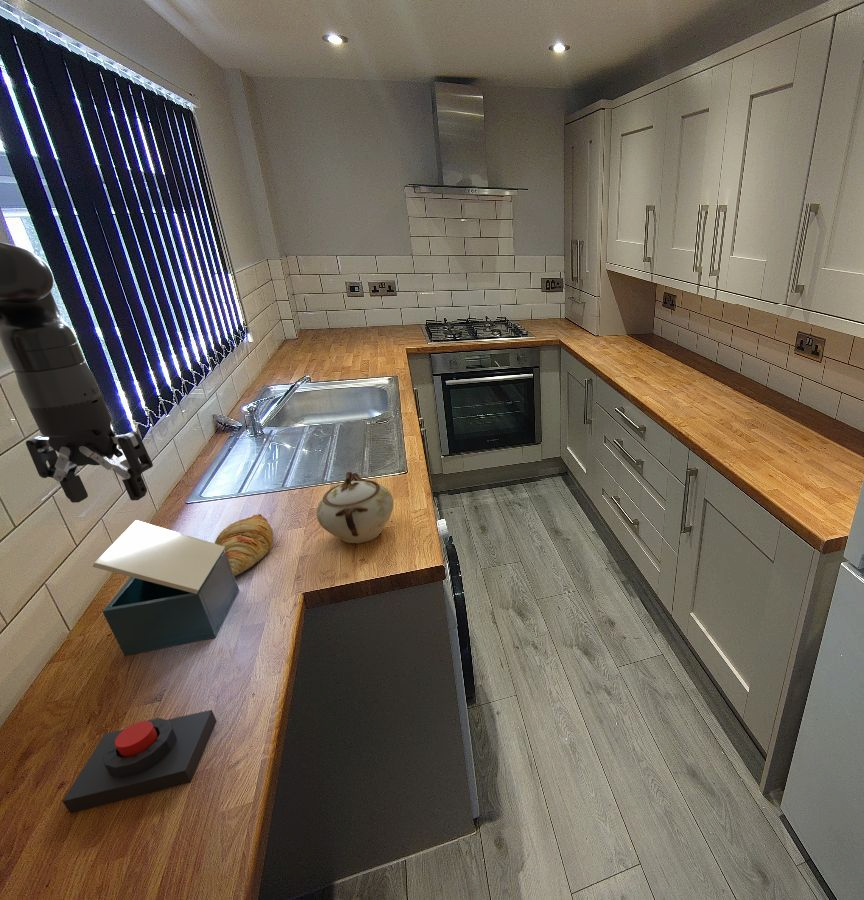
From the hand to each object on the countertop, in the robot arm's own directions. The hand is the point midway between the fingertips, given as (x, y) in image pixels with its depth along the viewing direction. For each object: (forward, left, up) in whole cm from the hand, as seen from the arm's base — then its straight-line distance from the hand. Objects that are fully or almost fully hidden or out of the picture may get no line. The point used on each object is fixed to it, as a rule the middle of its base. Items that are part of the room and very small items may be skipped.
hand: (110, 499), depth 79 cm
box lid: (+4, 0, -11) cm, 12 cm away
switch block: (+9, -29, -24) cm, 39 cm away
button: (+9, -29, -20) cm, 37 cm away
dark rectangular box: (+3, 0, -24) cm, 24 cm away
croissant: (+7, +20, -24) cm, 32 cm away
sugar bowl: (+29, +20, -24) cm, 43 cm away
